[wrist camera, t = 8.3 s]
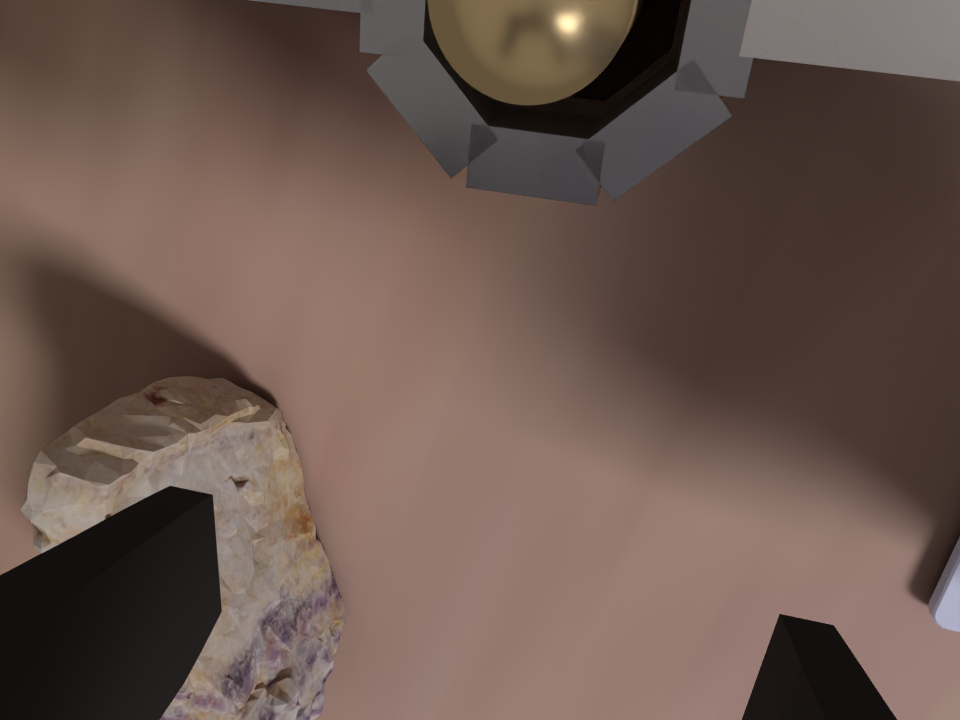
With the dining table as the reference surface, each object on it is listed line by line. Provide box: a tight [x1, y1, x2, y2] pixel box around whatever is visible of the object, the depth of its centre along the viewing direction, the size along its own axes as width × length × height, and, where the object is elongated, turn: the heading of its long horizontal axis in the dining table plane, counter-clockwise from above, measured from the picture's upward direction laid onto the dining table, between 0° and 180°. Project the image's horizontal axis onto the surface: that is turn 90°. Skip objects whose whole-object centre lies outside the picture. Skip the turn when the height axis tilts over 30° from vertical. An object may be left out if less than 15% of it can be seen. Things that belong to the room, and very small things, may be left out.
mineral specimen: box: [21, 376, 346, 720], centre depth 21 cm, size 13×7×6 cm, turn 10°
